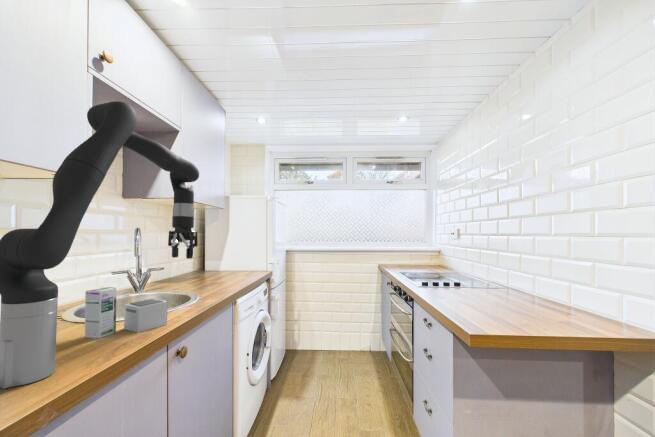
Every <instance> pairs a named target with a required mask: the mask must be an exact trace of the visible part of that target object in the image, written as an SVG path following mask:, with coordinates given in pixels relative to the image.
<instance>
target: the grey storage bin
mask: <svg viewBox="0 0 655 437" xmlns="http://www.w3.org/2000/svg"><path fill="white" fill-rule="evenodd" d="M123 315H124V317H123V318H124V319H123V321H124V322H123V329H124V330H128V331H130V332H134V333H137V334H139V333H142V332H146V331H149V330H152V329H155V328H160V327H162V326H166V325H168V300H163V299H162V300H161V299H158V298H157V299H156V298H150V299H144V300H139V301H134V302H130V303H126V304H124V314H123Z"/></svg>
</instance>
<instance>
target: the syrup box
mask: <svg viewBox="0 0 655 437" xmlns="http://www.w3.org/2000/svg"><path fill="white" fill-rule="evenodd" d="M84 295H85V296H84V297H85V298H84V299H85V300H84V301H85V303H84V305H85V306H84V307H85V308H84V338H89V339H102V338H104V337H107V336H109V335H112V334H115V333H116V332H117V287H112V286H106V287H104V286H103V287H102V286H101V287H100V288H93V289H89V290H85V294H84Z"/></svg>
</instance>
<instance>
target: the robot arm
mask: <svg viewBox="0 0 655 437" xmlns="http://www.w3.org/2000/svg"><path fill="white" fill-rule="evenodd" d="M137 116H138V115H137V113H136V111H135V109H134V108H133V107H132V106H131V105H130V104H129V103H127V102H124V101H118V100H116V101H114V100H113V101H109V102H104V103H99V104H95V105H94V106H91V107H90V108H89V109H88V110H87V113H86V118H87V122H88V124H89V125H90V127H91V128H92V129H93V130H94V131H95V132H94V133H93V134H92V135H90V137H88V139H86V140H84V141H83V142H82V143H80V144H79V145H78V146H77V147H75V148H74V149H73V150H72V151H71V152H70V153H68V155H67V156H66V157H65V158H64V160H63V161H62V163H61V164H60V166H58V168H57V170H56V172H55V173H54V175H53V178H52V185H51V186H52V196H53V200H52V205H51V207H50V210H49V212H48V214H47V215H46V217H45V218H44V220H43V221H42V223H41V224H40V225H39V226H38V227H37V228H17V229H12V230H10V231H8V232H7V233H5V234H3V235H2V237H1V238H0V388H1V389H3V390H4V389H7V388H11V387H17V386H24V385H27V384H31V383H32V384H33V383H35V382H37V381H41V380H43V379H45V378H47V377H50V376H52V374H54V373H55V371H56V360H57V359H56V358H57V357H56V353H57V350H56V349H57V330H58V302H59V301H58V299H59V286H58V284H56V283H55V282H53V281H52V280H50V279H48V277H47V275H46V274H45V270H50V269H53V268H55V267H58V266H59V265H60V264H62V262H63V261H65V259H66V257H68V254H69V253H70V251H71V247H73V246H72V245H73V243H74V240H75V237H76V236H77V233H78V231H79V230H78V229H79V227H80V225H81V222H82V220H83V218H84V216H85V214H86V213H87V210H88V208H89V207H90V204H91V203H92V200H93V198H94V197H95V196H96V194H97V192H98V191H99V189H100V187H101V186H102V184H103V182H104V180H105V177H106V175H107V174H108V171H109V170H110V168H111V166H112V164H113V163H114V161H115V159H116V158H117V155H118V154H119V152H120V151H121V149H122V147H125V148H128V149H130V150H131V151H133V152H135V153H137V154H139V155H141V156H142V157H144V158H146V159H147V160H149V161H150V162H151V163H153V164H154V165H156V166H157V167H159V168H160V169H162V170H163V171H165V172H169V180H170V183H171V187H172V191H173V206H172V217H171V218H172V222H171V223H172V224H171V227H172V228H173V229H174V230H169V231H168V240H167V242H168V243H167V245H168V247H170V248H171V258H178V257H179V247H180V245H181V244H182V243H183V245H185V246H186V251H185V254H186V255H185V258H186V259H193V256H194V248H197V247H198V246H199V244H198V243H199V241H198V238H199V236H198V231H197V230H192V229H193V228H194V226H195V225H194V223H195V207H194V206H195V205H194V204H195V203H194V202H195V193H194V190H193V189H192V188H187V186H186V183H193V182H196V181H197V180H198V179H199V178H200V171H199V168H198V167H197V166H196V164H194V163H192V162H191V161H189V160H187V159H185V158H183V157H181V156H178V155H176V154H175V152H173V151H172V150H170V148H167V146H165V145H163V144H162V143H160V142H158V141H156V140H153V139H151V138H148V137H145V136H144V135H141V134H139V133H137V132H135V129H136V127H137V123H138V117H137Z"/></svg>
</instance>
